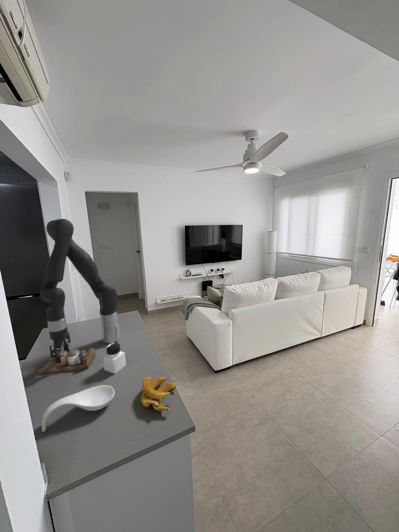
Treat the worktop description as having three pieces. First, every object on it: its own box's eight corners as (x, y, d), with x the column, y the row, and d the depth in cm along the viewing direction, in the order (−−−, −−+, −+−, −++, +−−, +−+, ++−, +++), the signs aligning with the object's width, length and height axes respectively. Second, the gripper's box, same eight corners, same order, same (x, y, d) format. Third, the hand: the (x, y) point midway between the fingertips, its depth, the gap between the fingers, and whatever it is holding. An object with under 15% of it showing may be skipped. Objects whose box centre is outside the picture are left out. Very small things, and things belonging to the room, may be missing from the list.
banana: (154, 425, 73) (152, 410, 72) (132, 393, 88) (131, 380, 87) (190, 402, 83) (189, 388, 82) (165, 376, 97) (164, 365, 96)
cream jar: (82, 359, 111) (81, 348, 110) (78, 366, 105) (76, 354, 104) (70, 360, 110) (69, 349, 109) (66, 367, 105) (64, 356, 103)
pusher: (85, 357, 112) (84, 348, 111) (80, 366, 105) (79, 356, 104) (83, 358, 111) (82, 348, 111) (77, 366, 105) (76, 356, 104)
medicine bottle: (126, 365, 106) (124, 342, 104) (115, 374, 99) (112, 350, 97) (115, 362, 109) (113, 340, 107) (104, 370, 102) (101, 347, 100)
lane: (95, 356, 114) (94, 348, 113) (88, 368, 104) (86, 359, 103) (50, 360, 111) (49, 352, 110) (38, 373, 101) (37, 364, 101)
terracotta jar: (71, 360, 110) (69, 349, 109) (65, 367, 105) (64, 356, 104) (59, 361, 110) (57, 350, 109) (53, 368, 104) (51, 357, 103)
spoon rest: (111, 388, 91) (109, 373, 90) (118, 406, 82) (117, 389, 80) (42, 417, 78) (39, 399, 77) (42, 442, 68) (38, 423, 67)
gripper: (58, 333, 97) (64, 366, 100) (72, 320, 111) (77, 349, 114) (40, 335, 96) (46, 367, 99) (57, 321, 110) (62, 350, 113)
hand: (62, 357), depth 107 cm, fingers open, 8 cm apart
